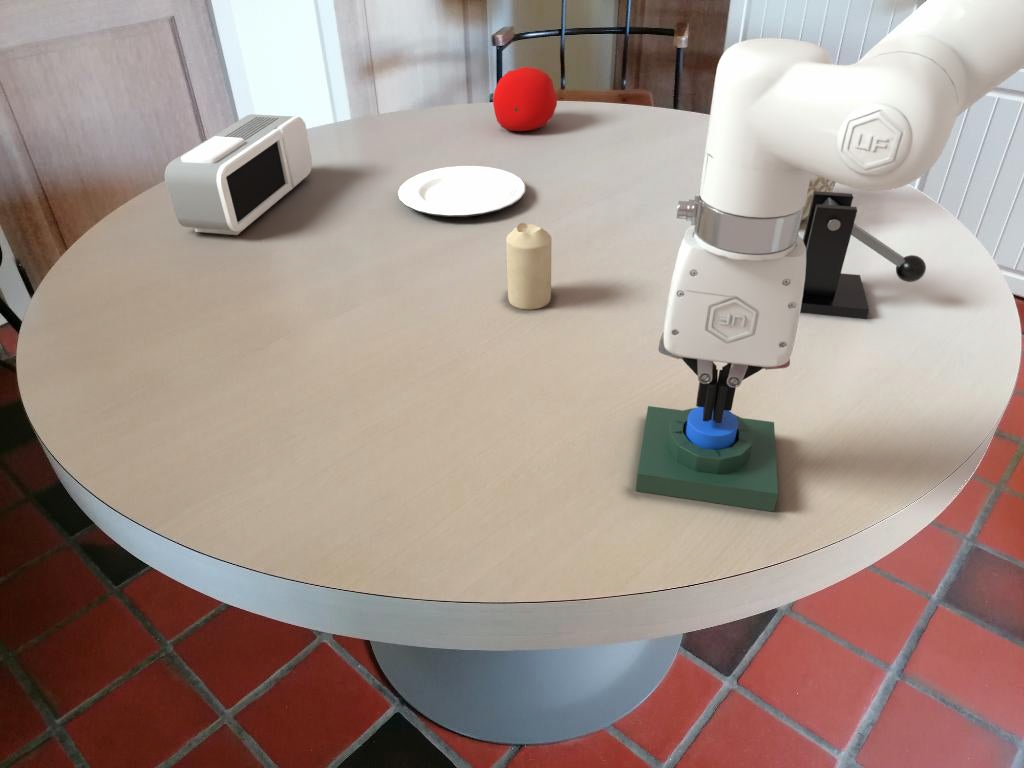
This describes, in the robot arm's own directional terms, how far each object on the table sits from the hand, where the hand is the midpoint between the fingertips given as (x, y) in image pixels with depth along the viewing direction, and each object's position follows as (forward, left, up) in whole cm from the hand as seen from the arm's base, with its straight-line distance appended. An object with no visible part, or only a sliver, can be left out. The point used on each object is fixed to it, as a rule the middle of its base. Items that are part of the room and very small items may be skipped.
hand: (712, 412), depth 67 cm
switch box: (0, 0, -6) cm, 6 cm away
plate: (+41, -57, -6) cm, 70 cm away
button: (0, 0, -3) cm, 3 cm away
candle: (+23, -27, -6) cm, 36 cm away
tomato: (+39, -95, -6) cm, 103 cm away
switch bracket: (-12, -35, -6) cm, 37 cm away
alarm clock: (+74, -48, -6) cm, 88 cm away
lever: (-17, -35, 0) cm, 39 cm away
